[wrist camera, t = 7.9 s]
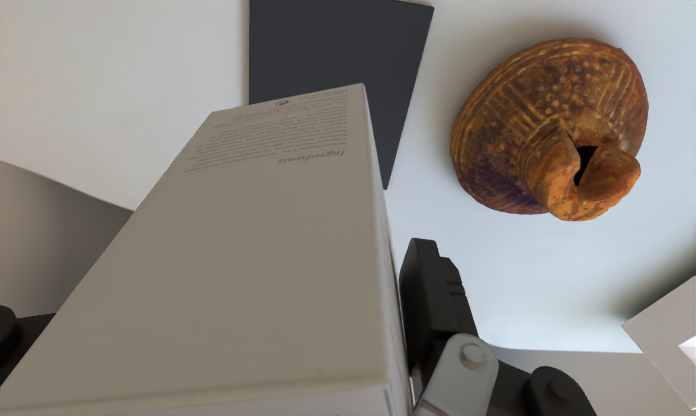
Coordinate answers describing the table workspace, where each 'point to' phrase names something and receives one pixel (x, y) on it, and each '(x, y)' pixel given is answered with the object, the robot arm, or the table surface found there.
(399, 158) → the table surface
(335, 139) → the small box
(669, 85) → the table surface
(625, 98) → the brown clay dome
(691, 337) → the bracket
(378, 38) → the coaster
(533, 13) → the table surface
